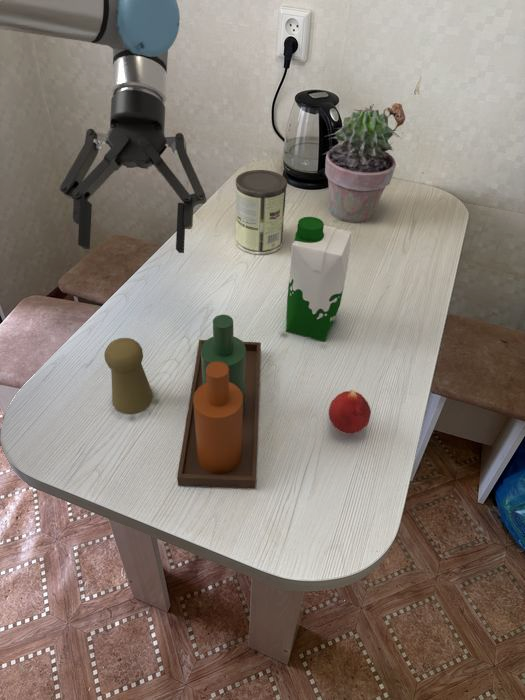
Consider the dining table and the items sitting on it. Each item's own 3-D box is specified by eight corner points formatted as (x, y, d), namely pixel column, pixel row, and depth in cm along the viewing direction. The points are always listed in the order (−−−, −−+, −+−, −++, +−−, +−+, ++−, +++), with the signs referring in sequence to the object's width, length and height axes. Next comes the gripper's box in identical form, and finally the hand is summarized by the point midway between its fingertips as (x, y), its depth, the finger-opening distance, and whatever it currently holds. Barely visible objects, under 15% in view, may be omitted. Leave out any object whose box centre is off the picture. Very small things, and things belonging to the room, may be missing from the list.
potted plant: (294, 201, 124) (304, 93, 107) (363, 190, 130) (383, 85, 113) (329, 238, 112) (347, 123, 95) (402, 224, 118) (431, 113, 101)
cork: (126, 420, 73) (114, 368, 66) (104, 396, 77) (90, 344, 69) (161, 400, 77) (153, 347, 69) (139, 378, 80) (129, 325, 72)
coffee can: (249, 225, 115) (251, 165, 105) (290, 238, 112) (295, 177, 102) (226, 246, 108) (226, 183, 99) (268, 260, 105) (272, 197, 95)
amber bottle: (195, 473, 67) (187, 387, 55) (200, 436, 71) (194, 350, 60) (240, 475, 67) (242, 390, 55) (242, 438, 71) (244, 352, 60)
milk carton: (293, 304, 95) (303, 207, 81) (340, 316, 93) (359, 218, 79) (279, 334, 89) (288, 233, 75) (329, 346, 87) (347, 246, 73)
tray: (178, 486, 66) (176, 477, 65) (199, 348, 85) (199, 339, 84) (255, 489, 66) (256, 480, 65) (260, 351, 85) (260, 342, 84)
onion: (368, 419, 76) (379, 383, 70) (361, 449, 72) (372, 413, 66) (330, 409, 77) (338, 372, 71) (321, 438, 73) (329, 402, 67)
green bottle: (202, 422, 73) (196, 335, 61) (206, 391, 77) (201, 304, 66) (243, 424, 73) (245, 338, 61) (245, 393, 78) (247, 307, 66)
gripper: (227, 117, 76) (221, 258, 76) (61, 110, 76) (54, 250, 75) (224, 91, 68) (217, 246, 68) (39, 82, 68) (32, 238, 68)
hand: (132, 249), depth 72 cm, fingers open, 13 cm apart
